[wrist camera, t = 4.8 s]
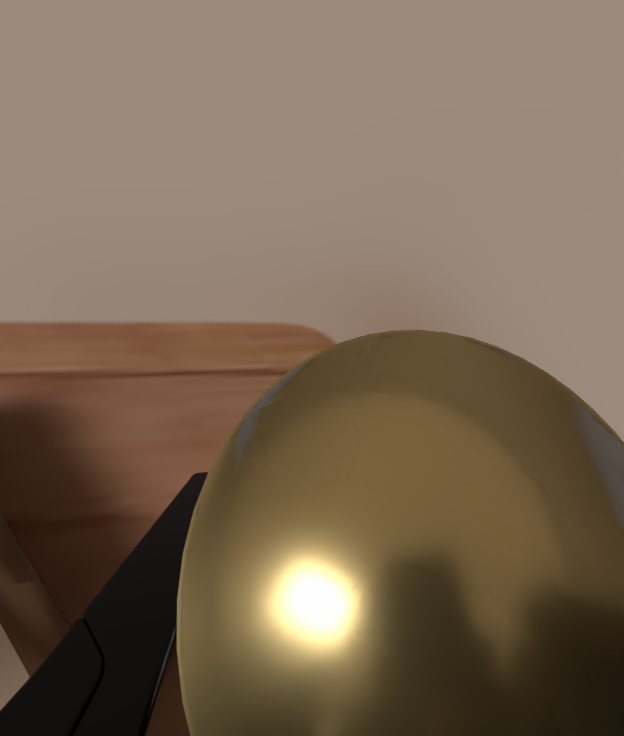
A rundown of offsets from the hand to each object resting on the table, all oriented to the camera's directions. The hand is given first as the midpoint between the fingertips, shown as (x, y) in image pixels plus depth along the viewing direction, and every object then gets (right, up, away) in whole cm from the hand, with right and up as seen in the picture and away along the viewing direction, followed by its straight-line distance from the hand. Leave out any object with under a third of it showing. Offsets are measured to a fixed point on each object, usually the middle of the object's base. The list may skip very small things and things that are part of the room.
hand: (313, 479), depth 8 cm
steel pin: (-1, -4, +5) cm, 7 cm away
